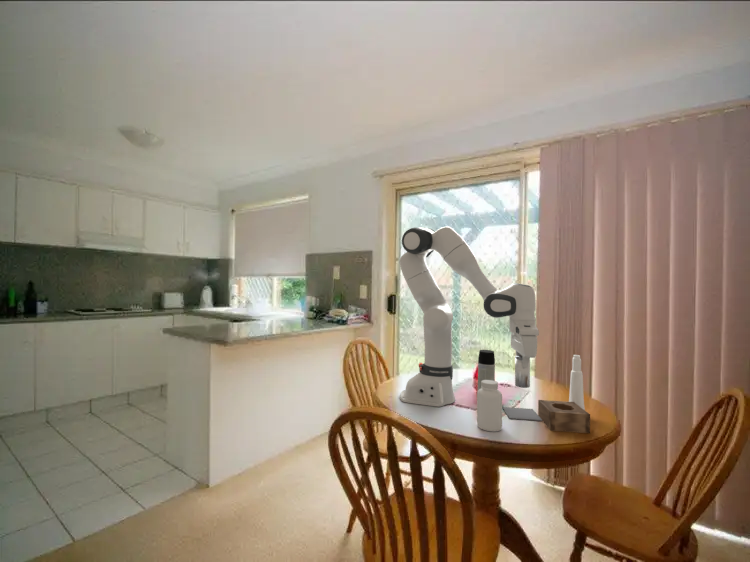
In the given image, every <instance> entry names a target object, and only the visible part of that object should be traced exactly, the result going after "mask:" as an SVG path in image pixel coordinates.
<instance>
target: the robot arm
mask: <svg viewBox="0 0 750 562" xmlns="http://www.w3.org/2000/svg"><path fill="white" fill-rule="evenodd" d="M401 244H402V247H403V249H404V250H405V251H406V252H405V253H403V254H402V255H401V257H400V258H399V262H398V263H399V267H400V270H401V273H402V275H403V278H404V281H405V282H406V285H407V286H408V289H409V290H410V292H411V295H412V297H413V298H414V300H415V301H416V303H417V304H418V307H419V308H420V309H421V311H422V313H423V317H422V320H423V321H422V322H423V339H424V363H423V362H419V363H418V369H419V372H418V373H417V374H415V375H413V376H412V377H411V378H410V379H408V381H407V382H406V385H405V388H404V390H402V391H401V392H400V395H399V399H400V400H401V402H403V403H408V404H416V405H423V406H430V407H439V408H440V407H443V406H446V405H450V404H453V403H455V401H456V398H455V397H456V396H455V394H454V388H453V378H454V367H453V364H452V359H453V358H452V357H453V348H452V347H453V345H452V343H453V341H452V340H453V339H452V337H453V336H452V323H453V319H454V314H453V311H452V309H451V308H450V306H449V303H448V302H447V300H446V299H445V297H444V295H443V293H442V291H441V289H440V288H439V286H438V284H437V281H436V280H435V277H434V276H433V274H432V272H431V270H430V268H429V266H428V264H427V260H426V258H429V256H430V255H431V254H432V253H433V252H436V253H437V254H438V255H439V256H440V258H441V259H442V260H443V261H444V263H446V265H447V266H448V267H449V268H450V269H451V270H452V271H453V272H455V273H456V274H458V275H460V276H462V278H465V279H466V280H467V281H468V282H469V283H470V284H471V285H472V286H473V288H475V290H476V291H477V293H478V294H479V295H480V296H481V298H482V300H483V309H484V312H485V313H486V314H487V315H488V316H489V317H492V318H496V319H500V318H504V317H509V332H510V347H511V348H512V349H513V350H514V351H515V356H516V355H522V358H523V360H522V366H523V367H524V368H527V367H528V362H529V359H530V360H531V359H532V358H533V359H534V358H535V359H536V356H537V352H538V336H539V334H540V331H539V328H538V326H537V324H536V323H537V322H536V316H535V312H536V310H537V309H536V307H537V305H536V294H535V289H534V288H533V287H532V286H530V285H527V284H524V283H517V282H516V283H511V284H510V285H509V286H507V287H505V288H504V289H501V290H499V289H497V288H496V287H495V286H494V285H493V283H492V282H491V281H490V280H489V278H488V277H487V276H486V274H485V273H484V272H483V271H482V269H481V267H480V264H479V262H478V260H477V257H476V255H475V254H474V252H473V250H472V248H471V247H470V245H469V244H468V243H467V242H466V241H465V239H464V238H463V237H462V236H461V235H460V234H459V233H458V232H457V231H456V230H454V229H453V228H452V227H451V226H443V227H440V228H438V229H437V230H436V231H435V230H434V229H432V228H429V227H428V228H427V227H423V226H422V227H421V226H419V227H411V228H408V229H407V230H406V231H405V232H404V233H403V234H402V238H401Z"/></svg>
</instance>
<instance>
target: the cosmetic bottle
mask: <svg viewBox="0 0 750 562" xmlns="http://www.w3.org/2000/svg"><path fill="white" fill-rule="evenodd" d="M572 355H573V356H572V360H571V361H572V365H571V366H572V367H571V368H572V370H570V381H569V395H568V397H569V398H568V402H575V403H576V404H577V405H578V406H580V407H581V408H582V409H584V410H585V411H586V409H585V397H584V377H583V371H582V358H581V355H579V354H572Z"/></svg>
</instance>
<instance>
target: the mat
mask: <svg viewBox="0 0 750 562" xmlns="http://www.w3.org/2000/svg"><path fill="white" fill-rule="evenodd" d="M503 409H504V410H503ZM502 410H503V411H504V413H505V414H506V416H507V417H508V419H509V420H516V421H517V420H519V421H521V420H522V421H531V422H532V421H534V422H543V420H542V419H541V418H540V417H539V416H538V413H536V411H535V410H534V409H533V408H524V407H510V406H502Z"/></svg>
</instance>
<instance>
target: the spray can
mask: <svg viewBox="0 0 750 562" xmlns="http://www.w3.org/2000/svg"><path fill="white" fill-rule="evenodd" d="M477 359H478V361H477V362H478V363H477V391H478V390H479V389H481V381H482V380H493V381H496V380H495V379H496V376H495V374H496V372H495V371H496V370H495V369H496V367H495V366H496V358H495V351H494V350H491V349H480V350H479V353H478V358H477Z"/></svg>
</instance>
